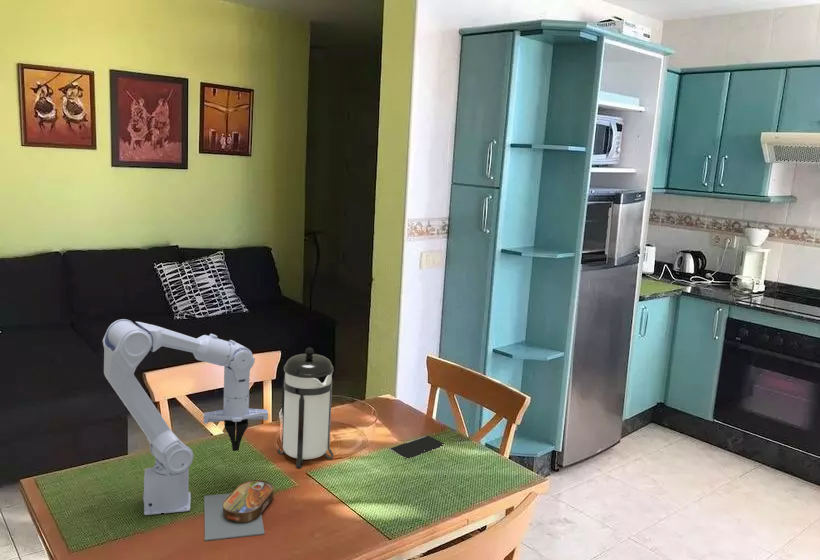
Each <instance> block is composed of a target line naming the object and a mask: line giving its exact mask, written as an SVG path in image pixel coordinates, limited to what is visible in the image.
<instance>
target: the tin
mask: <svg viewBox="0 0 820 560" xmlns="http://www.w3.org/2000/svg"><path fill="white" fill-rule="evenodd" d="M274 488H275V487H274V485H273V484H272V483H270V481H266V480H261V479H252V480H251V479H250V480H247V481H244V482H241V483H240V484H239V485H237V486H236V488H235V489H233V491H232V492H231V494H230V495H229V496H228V497H227V498H226V499H225V500H224V502H223V515H224V517H225V518H226V519H227V520H230V521H234V522H249V521H252V520H254V519H256V518H257V517H258V516H259V515H260V514H261V515H262V513H263V512H264V510H265V509H266V508H267V506H268V505H269V504H270V503H271V502H272V500H273V497H274Z"/></svg>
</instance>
